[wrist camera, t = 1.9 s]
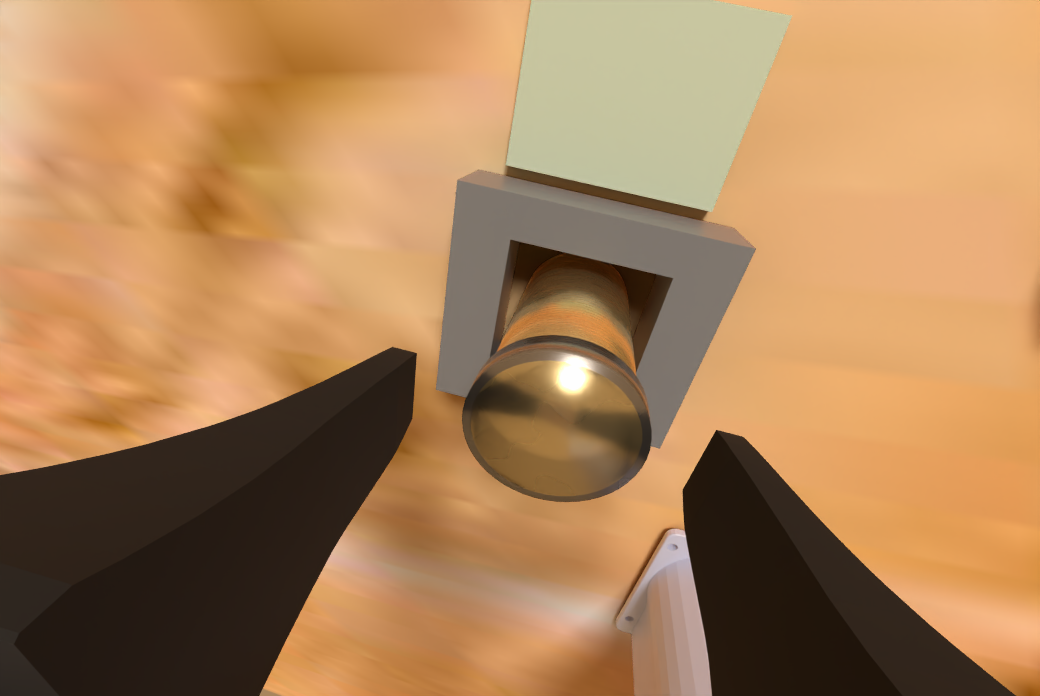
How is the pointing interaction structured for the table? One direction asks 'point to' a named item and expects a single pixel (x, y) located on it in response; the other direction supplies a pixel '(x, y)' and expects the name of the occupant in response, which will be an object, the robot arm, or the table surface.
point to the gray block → (596, 235)
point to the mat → (641, 93)
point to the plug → (562, 389)
